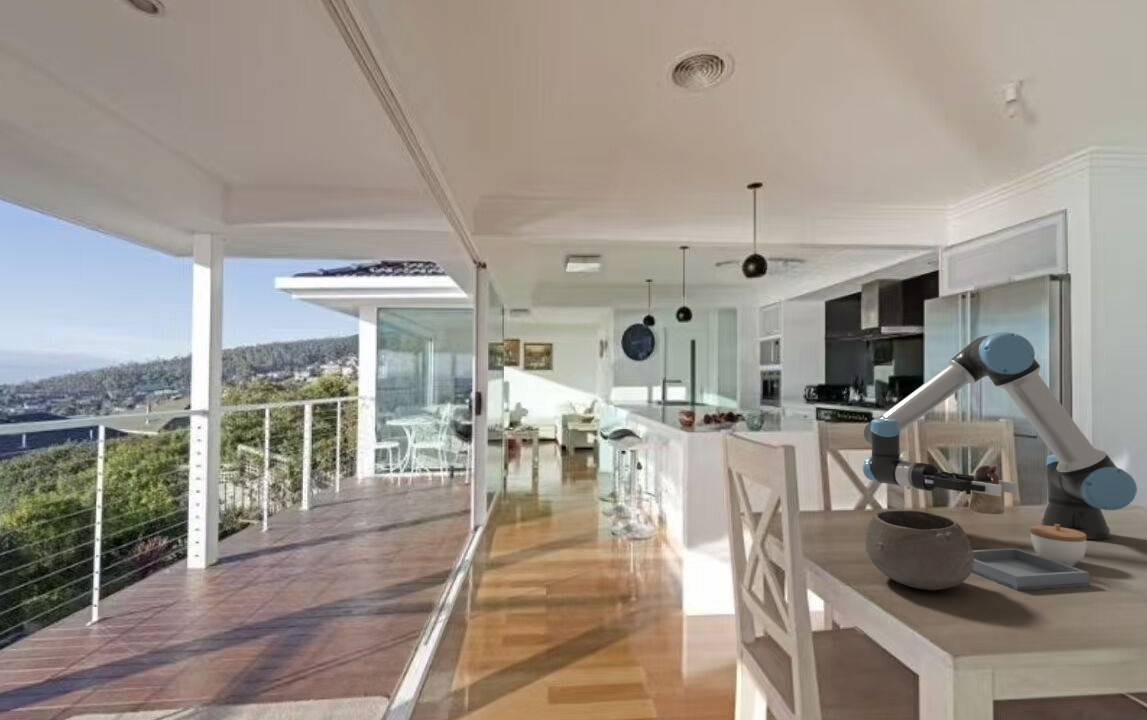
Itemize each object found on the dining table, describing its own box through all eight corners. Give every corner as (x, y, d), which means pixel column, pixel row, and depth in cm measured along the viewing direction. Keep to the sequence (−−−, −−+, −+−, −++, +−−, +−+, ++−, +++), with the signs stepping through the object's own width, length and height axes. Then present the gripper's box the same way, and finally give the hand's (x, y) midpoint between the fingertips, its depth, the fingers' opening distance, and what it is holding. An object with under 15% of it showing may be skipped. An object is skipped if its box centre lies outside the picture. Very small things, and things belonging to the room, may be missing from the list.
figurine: (987, 507, 149) (985, 462, 150) (1011, 514, 142) (1010, 466, 142) (963, 508, 148) (962, 463, 148) (987, 515, 141) (985, 467, 141)
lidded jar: (1037, 565, 137) (1035, 527, 138) (1026, 553, 147) (1025, 517, 147) (1094, 572, 132) (1093, 532, 133) (1079, 559, 142) (1078, 521, 142)
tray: (1015, 560, 142) (1015, 548, 142) (1089, 586, 124) (1089, 572, 124) (951, 563, 139) (951, 551, 139) (1017, 590, 121) (1016, 576, 122)
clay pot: (981, 609, 112) (979, 534, 112) (864, 591, 122) (862, 522, 122) (967, 576, 130) (965, 511, 131) (867, 563, 140) (865, 503, 141)
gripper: (938, 485, 166) (1029, 500, 145) (896, 491, 157) (987, 508, 136) (937, 460, 166) (1028, 471, 145) (895, 465, 157) (986, 477, 137)
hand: (1008, 489), depth 141 cm, fingers closed on figurine, 6 cm apart
